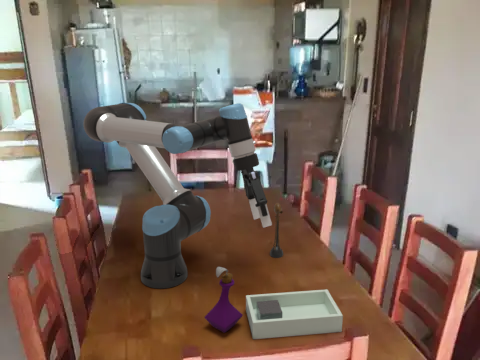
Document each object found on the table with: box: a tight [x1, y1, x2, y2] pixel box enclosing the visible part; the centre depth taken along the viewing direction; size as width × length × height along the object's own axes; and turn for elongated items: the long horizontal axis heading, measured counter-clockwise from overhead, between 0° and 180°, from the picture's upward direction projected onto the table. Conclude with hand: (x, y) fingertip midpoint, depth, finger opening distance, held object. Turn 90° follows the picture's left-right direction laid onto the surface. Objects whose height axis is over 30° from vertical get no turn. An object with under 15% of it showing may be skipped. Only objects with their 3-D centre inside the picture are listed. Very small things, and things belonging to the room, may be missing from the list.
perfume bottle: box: [204, 266, 244, 334], centre depth 117 cm, size 8×8×18 cm
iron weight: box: [256, 300, 282, 320], centre depth 120 cm, size 6×6×4 cm
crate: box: [245, 288, 344, 340], centre depth 121 cm, size 24×13×5 cm, turn 97°
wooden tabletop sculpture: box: [269, 202, 284, 259], centre depth 156 cm, size 6×5×20 cm
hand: (262, 222), depth 135 cm, fingers open, 13 cm apart
